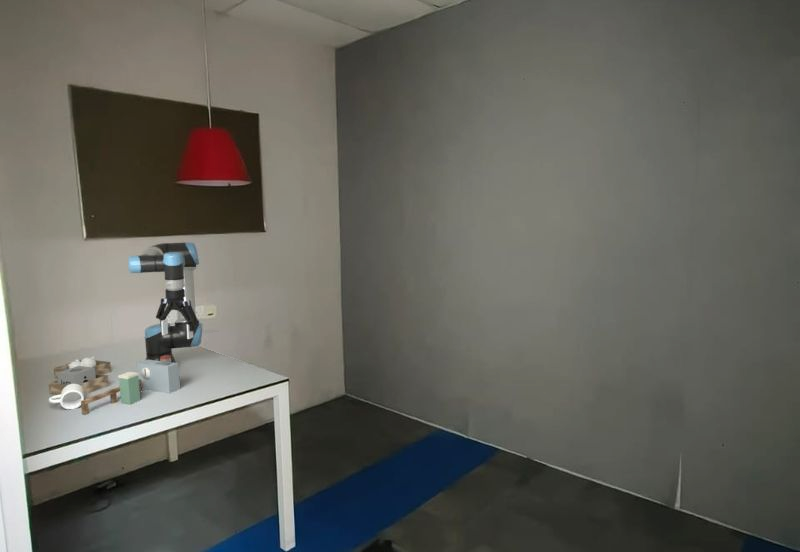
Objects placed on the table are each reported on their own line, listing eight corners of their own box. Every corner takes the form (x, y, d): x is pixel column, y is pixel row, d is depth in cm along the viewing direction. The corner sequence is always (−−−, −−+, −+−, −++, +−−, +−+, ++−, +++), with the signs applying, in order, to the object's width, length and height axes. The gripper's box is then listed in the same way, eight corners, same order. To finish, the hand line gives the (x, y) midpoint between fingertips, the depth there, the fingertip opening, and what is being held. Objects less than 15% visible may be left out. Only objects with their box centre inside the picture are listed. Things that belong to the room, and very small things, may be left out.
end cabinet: (149, 384, 224) (147, 359, 223) (180, 388, 218) (178, 362, 217) (137, 389, 218) (134, 363, 217) (168, 394, 212) (166, 367, 210)
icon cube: (59, 394, 213) (57, 372, 212) (80, 386, 223) (78, 365, 222) (75, 397, 210) (73, 374, 209) (96, 389, 219) (94, 367, 218)
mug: (84, 399, 207) (83, 381, 206) (84, 407, 198) (82, 388, 197) (50, 406, 200) (48, 387, 199) (48, 414, 192) (46, 394, 191)
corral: (85, 368, 251) (84, 358, 250) (138, 375, 238) (137, 365, 238) (19, 389, 221) (18, 378, 220) (75, 397, 209) (74, 386, 208)
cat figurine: (67, 358, 236) (95, 352, 244) (65, 365, 243) (92, 359, 251) (71, 375, 233) (99, 368, 242) (69, 382, 241) (96, 375, 249)
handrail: (139, 391, 216) (138, 379, 215) (142, 391, 215) (141, 379, 215) (82, 414, 191) (80, 401, 190) (85, 414, 190) (83, 401, 190)
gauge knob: (166, 362, 217) (165, 355, 217) (171, 363, 216) (170, 355, 216) (160, 364, 214) (160, 356, 214) (165, 364, 213) (165, 357, 213)
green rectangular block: (131, 399, 207) (129, 371, 205) (140, 400, 205) (138, 372, 203) (120, 403, 202) (118, 375, 200) (130, 405, 200) (127, 376, 198)
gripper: (144, 287, 207) (148, 335, 211) (192, 293, 199) (195, 342, 203) (158, 284, 214) (161, 330, 218) (205, 289, 206) (207, 337, 210)
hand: (177, 336), depth 211 cm, fingers open, 13 cm apart
